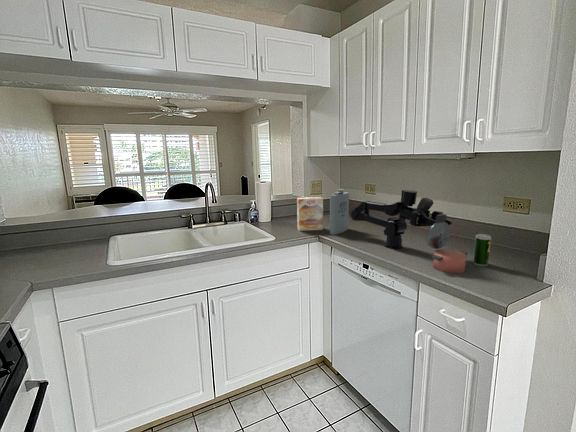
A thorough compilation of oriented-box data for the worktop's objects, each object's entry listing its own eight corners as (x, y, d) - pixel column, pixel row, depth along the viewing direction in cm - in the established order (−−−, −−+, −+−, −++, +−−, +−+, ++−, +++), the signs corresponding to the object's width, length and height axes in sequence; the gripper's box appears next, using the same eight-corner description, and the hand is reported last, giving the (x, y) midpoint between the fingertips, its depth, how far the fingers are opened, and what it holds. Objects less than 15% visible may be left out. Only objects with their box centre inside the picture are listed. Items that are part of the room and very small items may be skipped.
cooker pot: (421, 265, 125) (422, 251, 124) (449, 260, 130) (450, 246, 129) (445, 276, 114) (447, 260, 113) (475, 269, 120) (476, 254, 119)
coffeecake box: (298, 231, 186) (298, 199, 182) (297, 228, 193) (296, 197, 189) (323, 229, 188) (323, 198, 184) (320, 227, 195) (320, 196, 191)
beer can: (473, 265, 125) (475, 236, 122) (472, 261, 129) (475, 233, 127) (488, 267, 122) (492, 237, 120) (487, 263, 127) (491, 234, 124)
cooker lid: (427, 250, 124) (425, 249, 125) (448, 246, 128) (446, 246, 129) (431, 216, 120) (429, 215, 121) (453, 213, 124) (451, 213, 125)
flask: (335, 235, 176) (336, 191, 171) (328, 233, 178) (329, 190, 174) (350, 229, 189) (351, 188, 184) (343, 228, 192) (344, 187, 187)
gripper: (403, 196, 133) (436, 204, 120) (429, 197, 143) (462, 204, 130) (397, 221, 135) (429, 231, 122) (423, 220, 145) (455, 230, 132)
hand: (445, 223), depth 127 cm, fingers open, 9 cm apart
